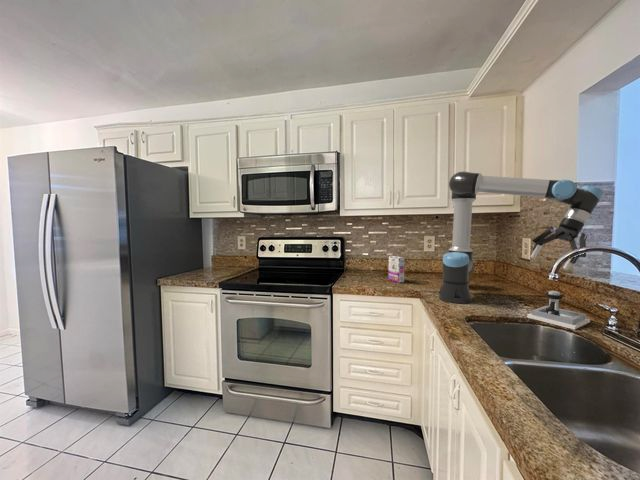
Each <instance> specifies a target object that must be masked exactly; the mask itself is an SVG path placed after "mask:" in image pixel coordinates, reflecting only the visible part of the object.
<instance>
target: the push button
mask: <svg viewBox="0 0 640 480" xmlns="http://www.w3.org/2000/svg"><path fill="white" fill-rule="evenodd" d="M545 295H546V298H547V299H548V300H549V301H548V302H549V303H548V306H549V308H546V309H545V310H546V311H545V312H546V313H549V314H553V315H557V316H560V311H559V309H560V308H559V301H561V300H562V299H563V297H564V294H562V293H561V292H560V291H558V290H557V291H556V290H549V291H548V292H545Z"/></svg>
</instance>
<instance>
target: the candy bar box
mask: <svg viewBox="0 0 640 480" xmlns="http://www.w3.org/2000/svg"><path fill="white" fill-rule="evenodd" d="M405 260H406V257H403V256H397V255H390V256H388V268H387V269H388V273H387V275H388V276H387V277H388V281H391V282H394V283H398V284H403V283H405V268H406V267H405V265H406V261H405Z"/></svg>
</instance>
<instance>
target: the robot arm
mask: <svg viewBox="0 0 640 480" xmlns="http://www.w3.org/2000/svg"><path fill="white" fill-rule="evenodd" d="M448 187H449V190H450V191H451V201H452V202H453V204H454V206H453V207H454V209H453V220H452V221H453V223H452V224H453V226H452V242H451V245H452V246H451V247H450V248H449V249H448V252H446V253H444V254H443V256H442V257H443V258H442V282H441V286H440V288H439V292H438V296H437V298H438V299H439V300H441V301H444V302H448V303H453V304H468V303H471V302H472V295H471V291H470V288H469V284H468V272H469V271H471V269H472V267H473V261H474V260H473V257H474V256H473V255H474V250H473V249H472V248H471V234H472V232H471V231H472V219H473V218H472V217H473V215H472V214H473V202H475V201H476V200H477V194H479V193H490V194H500V195H512V196H524V197H533V198H546V199H547V200H552V201H555V202H559V203H562V204H565V205H568V206H569V208H568V210H567V211H566V213H565V214H564V218H562V220H561V221H560V223H559V225H558V227H557V228H556V227H554V226H552V225H550V226H549V227H548V228H547V229H546V230H545V231H544V232H542V233H541V234H539V235H538V236H536V237H535V238H534V239H532V242H533V243H534V244H535V245H534V246H533V248H532V253H531V255H530V256H529V257H530V258H531V259H533V260H535V259H536V258H537V256H538V255H539V253H540V251H541V250H542V248H543V246H544V245H545V244H547V243H550V242H551V241H552V242H553V241H554V240H558V239H559V240H561V241H565V242H569V245H570V248H571V250H572V251H573V250H575V249H578V246H577V244H576V240H575V239H577V238H578V239H579V249H580V248H583V247H586V248H587V246H586V245H587V243H586V241H587V238H588V235H587V234H585V233H580V232H581V231H582V230H583V227H584V226H585V224H586V223H587V221H588V220H589V218H590V216H591V214H592V213H593V211H594V210H595V208H596V207H597V206H598V204H599V202H600V200H601V198H602V196H603V195H604V190H603V189H602V188H600V187H598V186H595V185H583V186H582V187H581V188H577V184H576V183H575V182H574V181H573V180H570V179H559V180H557V179H541V178H523V177H510V176H509V177H508V176H507V177H506V176H492V175H490V176H489V175H482V174H481V173H480V172H478V173H477V172H470V171H458V172H456V173H455V174H453V175H452V176H451V177H450V179H449V182H448ZM554 232H555V233H554ZM586 257H587V252H586V253H584V254H581V255H578V256H576V257H573V258H571V259H569V258H568V259H569V260H568V259H567V260H568V261H566V262H565V263H564V265H563V267H562V268H563V269H564V270H565V271H569V269H570V267H571V266H572V264H573V265H574V264H576V262H577V260H579V258H586Z"/></svg>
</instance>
